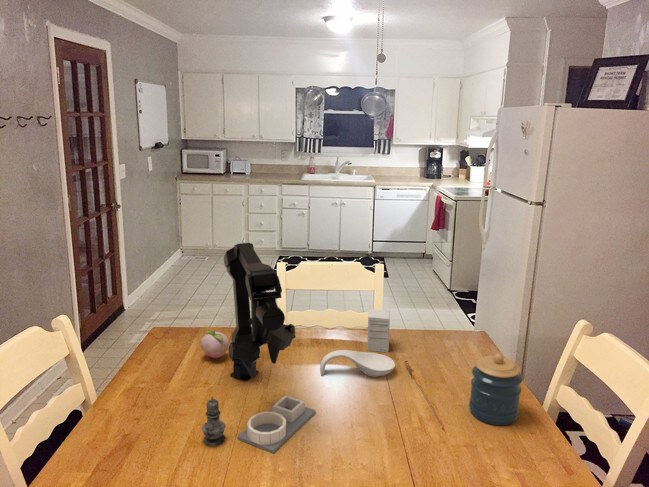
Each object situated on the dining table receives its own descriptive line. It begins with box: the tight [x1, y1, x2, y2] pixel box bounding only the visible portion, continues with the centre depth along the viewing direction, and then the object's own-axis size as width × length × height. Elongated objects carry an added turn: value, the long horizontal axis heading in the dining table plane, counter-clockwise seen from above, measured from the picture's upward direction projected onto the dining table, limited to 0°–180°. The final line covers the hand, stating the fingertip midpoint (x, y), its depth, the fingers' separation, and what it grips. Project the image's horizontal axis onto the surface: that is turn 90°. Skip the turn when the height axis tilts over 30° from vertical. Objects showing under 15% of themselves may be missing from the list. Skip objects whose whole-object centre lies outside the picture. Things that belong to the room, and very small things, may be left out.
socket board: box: [237, 395, 317, 454], centre depth 138 cm, size 20×11×4 cm, turn 150°
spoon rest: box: [319, 349, 396, 378], centre depth 165 cm, size 24×12×7 cm, turn 93°
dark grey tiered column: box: [201, 396, 227, 447], centre depth 131 cm, size 6×6×12 cm
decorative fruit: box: [200, 330, 230, 359], centre depth 173 cm, size 9×8×10 cm
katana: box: [404, 360, 444, 429], centre depth 153 cm, size 1×35×3 cm, turn 7°
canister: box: [468, 353, 524, 426], centre depth 143 cm, size 13×13×18 cm
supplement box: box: [366, 309, 391, 353], centre depth 182 cm, size 7×7×13 cm
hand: (263, 370), depth 140 cm, fingers open, 9 cm apart
